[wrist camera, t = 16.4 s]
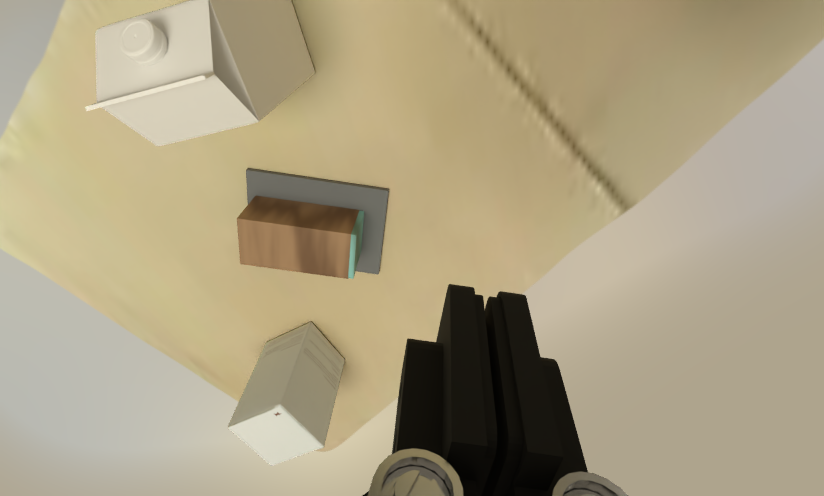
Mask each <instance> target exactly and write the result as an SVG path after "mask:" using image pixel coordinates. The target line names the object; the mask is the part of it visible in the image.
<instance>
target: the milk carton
mask: <svg viewBox="0 0 824 496" xmlns="http://www.w3.org/2000/svg"><path fill="white" fill-rule="evenodd" d="M314 74H315V70H314V67H313V64H312V61H311V58H310V55H309V52H308V49H307V46H306V43H305V40H304V37H303V34H302V31H301V28H300V25H299V22H298V19H297V16H296V13H295V10H294V7H293V4H292V1H291V0H189V1H185V2H182V3H179V4H175V5H172V6H169V7H166V8H162V9H159V10H156V11H152V12H149V13H146V14H142V15H139V16H136V17H132V18H129V19H126V20H122V21H119V22H116V23H113V24H110V25H107V26H104V27H101V28H99V29H98V30H97V31H96V90H97V103H94V104H92V105H90V106H86V107H85V109H86V110H87V111H89V110H93V109H96V108H100V107H101V108H103V109H104V110H106V111H107V112H109V113H110V114H111V115H113V116H114V117H116V118H117V119H119V120H120V121H121V122H123V123H124V124H126V125H127V126H129V127H130V128H132V129H133V130H134V131H136V132H137V133H139V134H140V135H142V136H143V137H144V138H146V139H147V140H149V141H150V142H152V143H153V144H155V145H156V146H163V145H168V144H172V143H176V142H180V141H184V140H188V139H192V138H197V137H201V136H205V135H209V134H213V133H217V132H221V131H225V130H229V129H233V128H238V127H242V126H246V125H250V124H254V123H257V122H259V121H260V120H261V119H262V118H264V117H265V116H266V115H267V114H268V113H269V112H271V111H272V110H273V109H274V108H275V107H276V106H278V105H279V104H280V103H281V102H282V101H283V100H285V99H286V98H287V97H288V96H289V95H290V94H292V93H293V92H294V91H295V90H296V89H297V88H299V87H300V86H301V85H302V84H303V83H304V82H306V81H307V80H308V79H309V78H310V77H311V76H312V75H314Z"/></svg>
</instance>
